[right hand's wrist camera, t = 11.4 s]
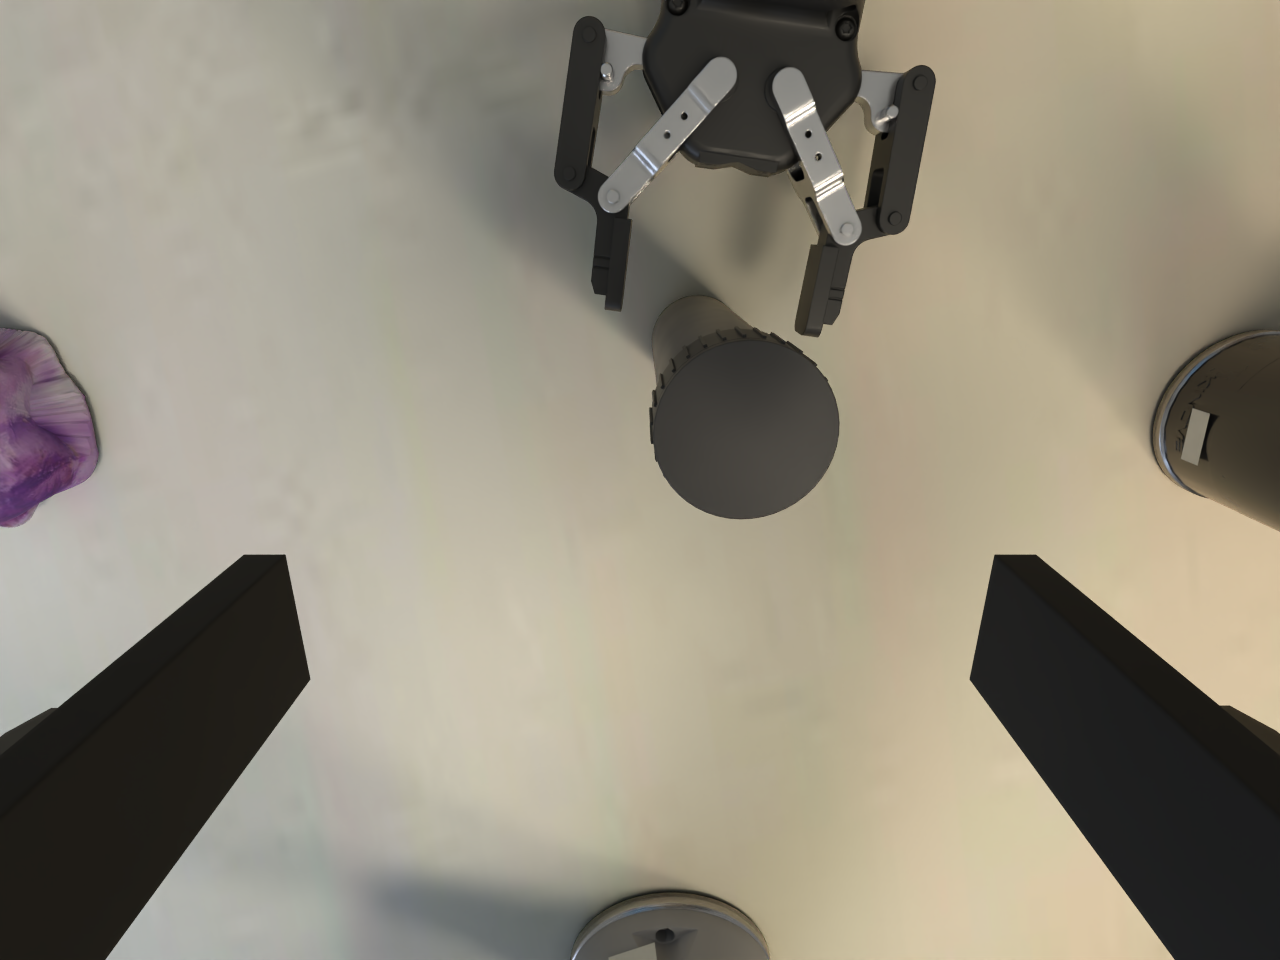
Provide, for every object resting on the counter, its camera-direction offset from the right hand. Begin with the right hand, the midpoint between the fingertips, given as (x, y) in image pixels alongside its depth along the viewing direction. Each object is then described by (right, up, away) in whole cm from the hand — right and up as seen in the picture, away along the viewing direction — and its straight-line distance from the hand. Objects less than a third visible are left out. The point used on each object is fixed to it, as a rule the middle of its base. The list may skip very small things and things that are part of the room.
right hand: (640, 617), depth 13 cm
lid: (+3, +4, +7) cm, 9 cm away
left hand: (+3, +10, +17) cm, 20 cm away
